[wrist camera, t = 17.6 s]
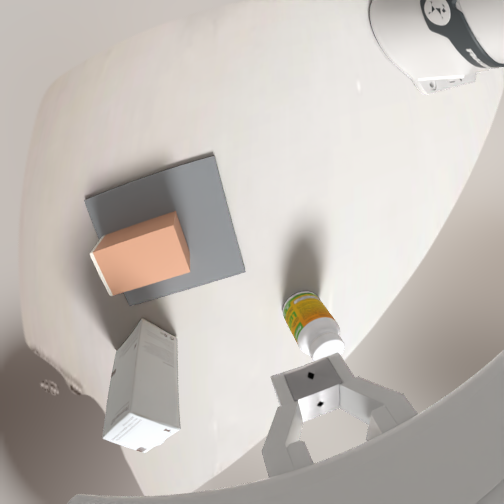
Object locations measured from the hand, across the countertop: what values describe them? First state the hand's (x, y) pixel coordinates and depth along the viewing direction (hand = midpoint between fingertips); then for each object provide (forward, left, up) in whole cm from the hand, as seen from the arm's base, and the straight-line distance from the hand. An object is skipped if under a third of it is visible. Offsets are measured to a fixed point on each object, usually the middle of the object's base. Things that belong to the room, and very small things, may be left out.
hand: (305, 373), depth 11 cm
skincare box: (+16, +14, -23) cm, 32 cm away
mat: (+7, 0, -23) cm, 24 cm away
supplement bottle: (-6, +15, -23) cm, 28 cm away
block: (+5, 0, -20) cm, 21 cm away
